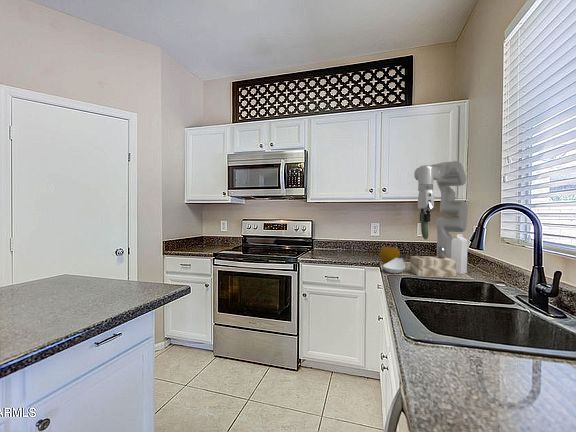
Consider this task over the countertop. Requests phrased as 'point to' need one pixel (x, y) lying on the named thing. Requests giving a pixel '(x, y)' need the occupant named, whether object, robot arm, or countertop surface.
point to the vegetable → (424, 226)
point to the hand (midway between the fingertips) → (424, 221)
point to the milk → (460, 253)
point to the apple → (389, 254)
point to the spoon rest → (395, 266)
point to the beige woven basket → (433, 265)
